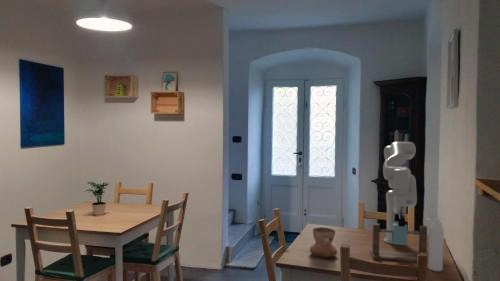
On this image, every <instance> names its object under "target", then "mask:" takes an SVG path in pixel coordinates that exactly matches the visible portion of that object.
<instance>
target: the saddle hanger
mask: <svg viewBox="0 0 500 281" xmlns="http://www.w3.org/2000/svg"><path fill="white" fill-rule="evenodd" d="M392 230H394V233H392V242H394V244H393V245H397V246H398V245H400V246H408V245H407V244H408V234H407V231H408V225H406V224H405V226H404V227H403V226H398V224H395V223H392Z"/></svg>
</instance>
